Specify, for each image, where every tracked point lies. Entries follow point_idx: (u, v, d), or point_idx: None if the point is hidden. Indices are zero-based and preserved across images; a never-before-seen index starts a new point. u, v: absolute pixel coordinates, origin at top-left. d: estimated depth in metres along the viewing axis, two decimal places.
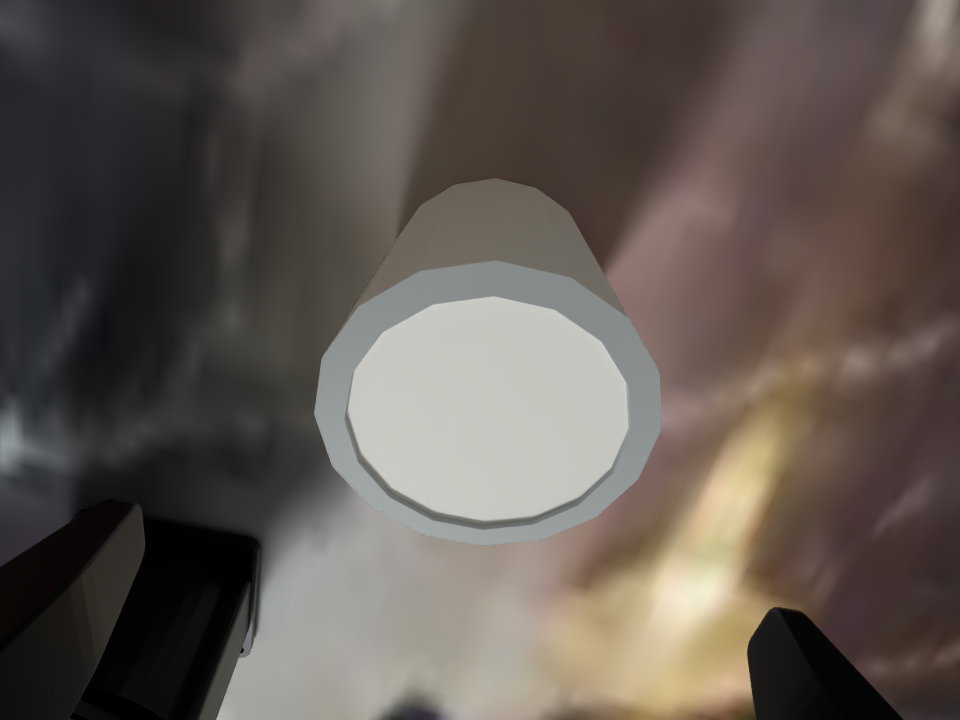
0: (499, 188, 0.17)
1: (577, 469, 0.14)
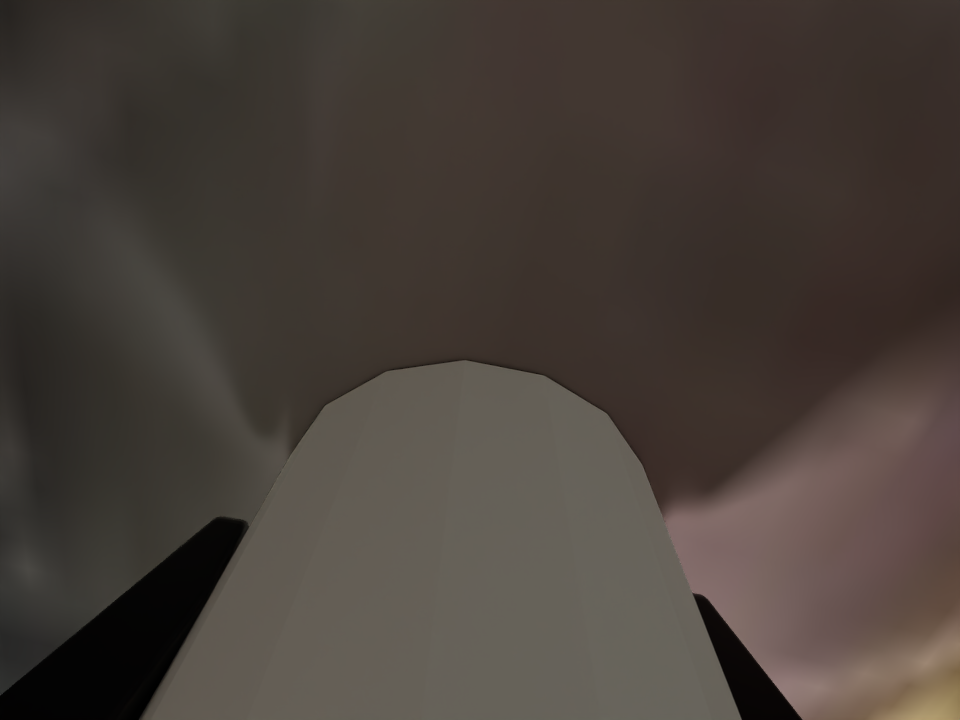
0: (466, 406, 0.08)
1: None
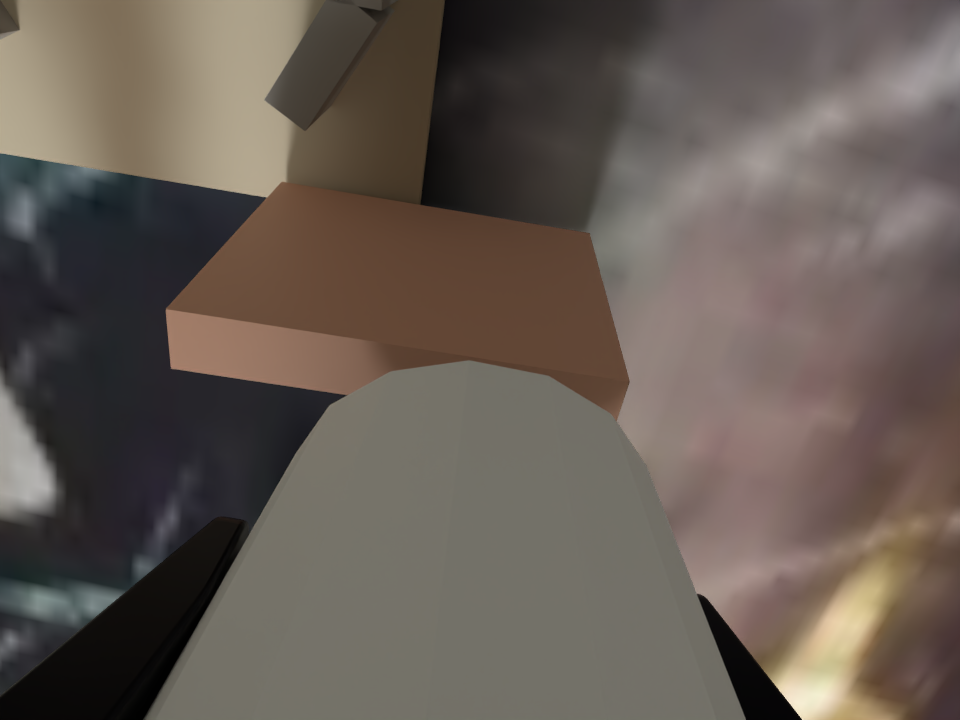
0: (471, 406, 0.08)
1: None
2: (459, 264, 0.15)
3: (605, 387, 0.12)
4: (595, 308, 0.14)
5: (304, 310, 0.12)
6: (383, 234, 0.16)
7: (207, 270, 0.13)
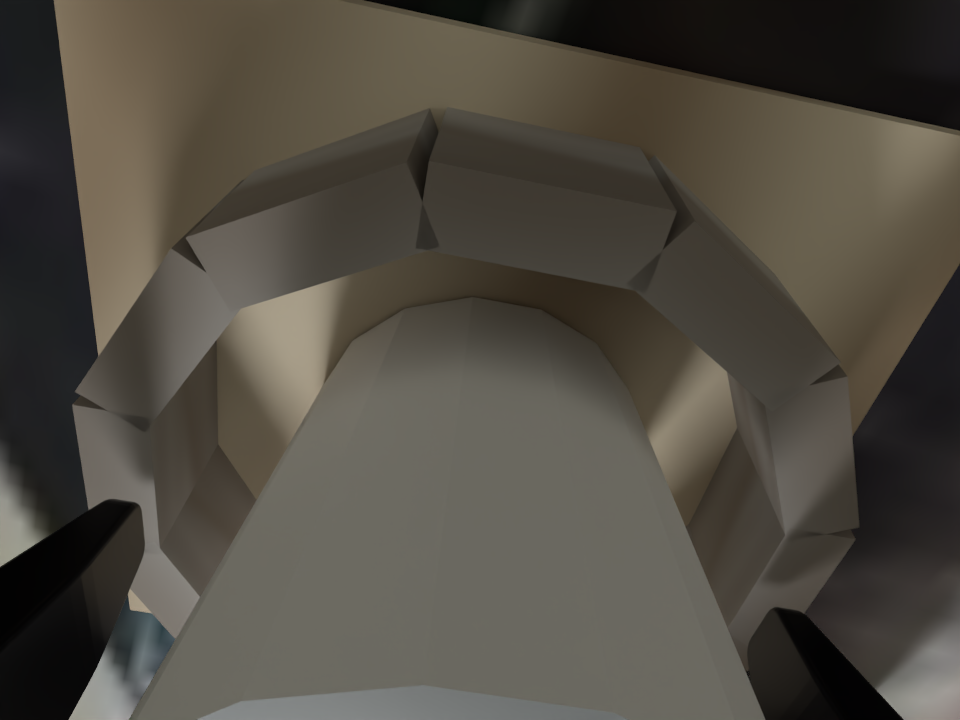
0: (474, 329, 0.10)
1: None
2: None
3: None
4: None
5: None
6: None
7: None
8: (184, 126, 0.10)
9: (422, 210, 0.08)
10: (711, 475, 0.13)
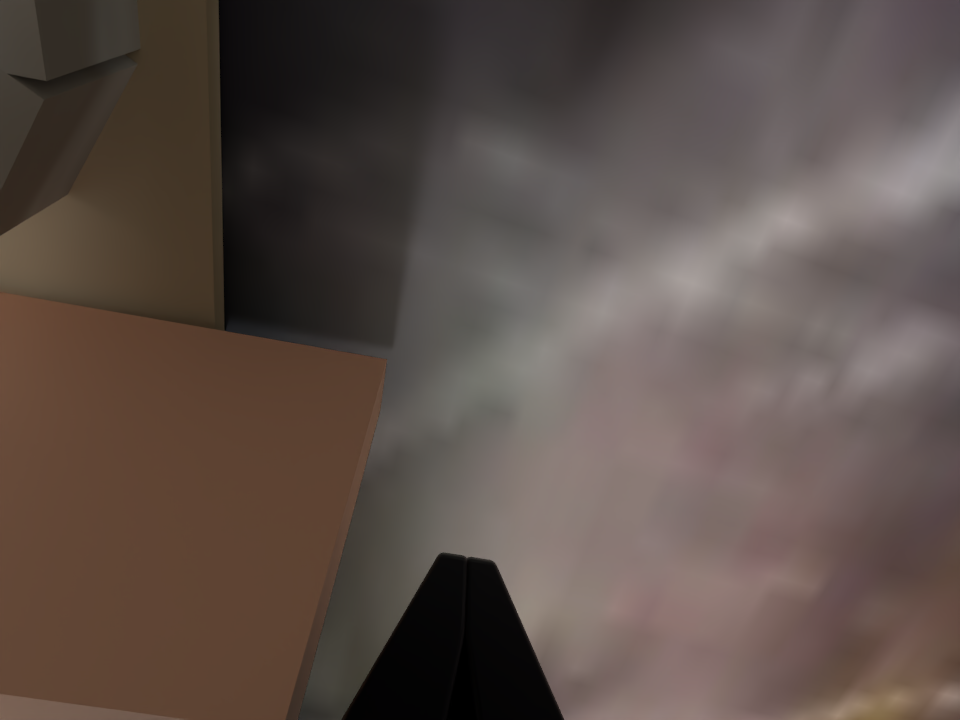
0: None
1: None
2: (127, 444, 0.10)
3: None
4: (312, 530, 0.09)
5: None
6: (36, 382, 0.11)
7: None
8: None
9: None
10: None
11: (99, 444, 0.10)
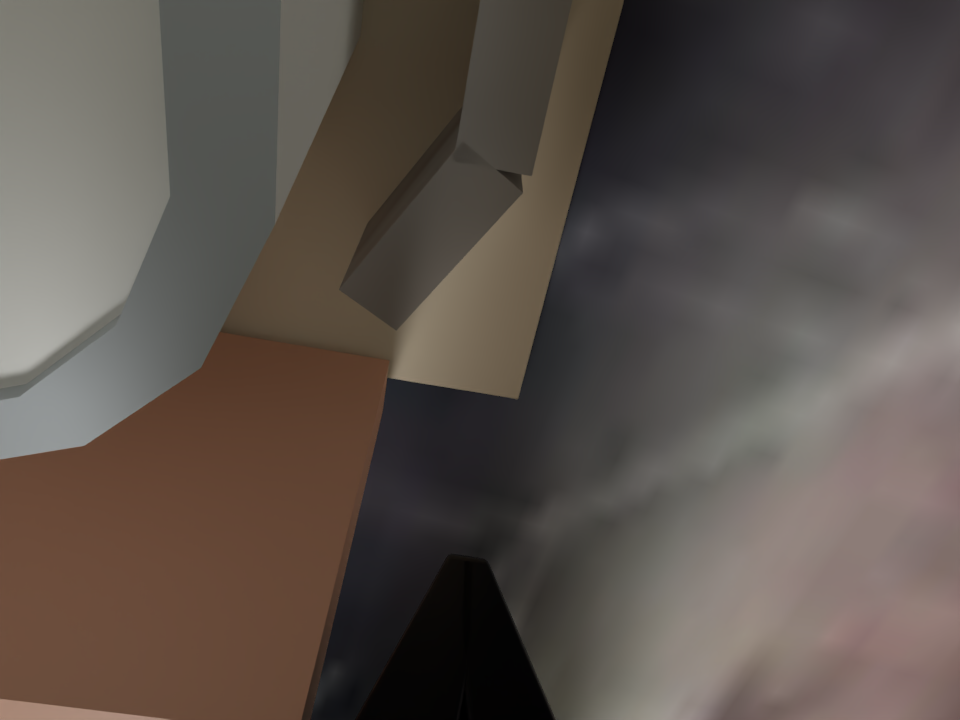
0: None
1: (69, 195, 0.04)
2: (132, 447, 0.10)
3: None
4: (321, 532, 0.09)
5: None
6: None
7: None
8: None
9: None
10: (476, 13, 0.10)
11: (104, 448, 0.10)
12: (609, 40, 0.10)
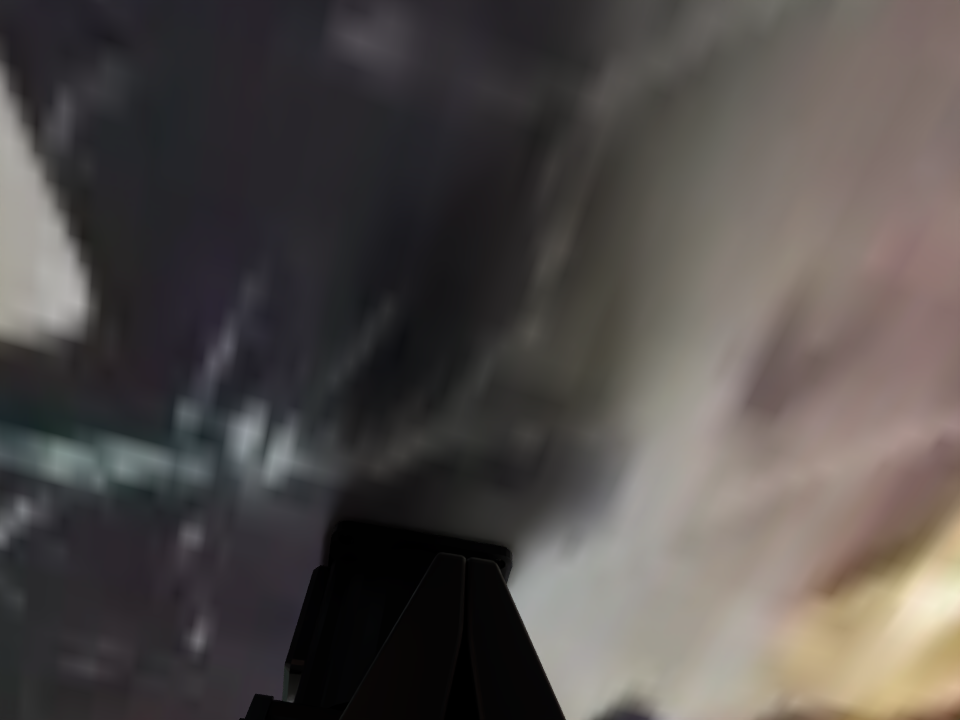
0: None
1: None
2: None
3: None
4: None
5: None
6: None
7: None
8: None
9: None
10: None
11: None
12: None
